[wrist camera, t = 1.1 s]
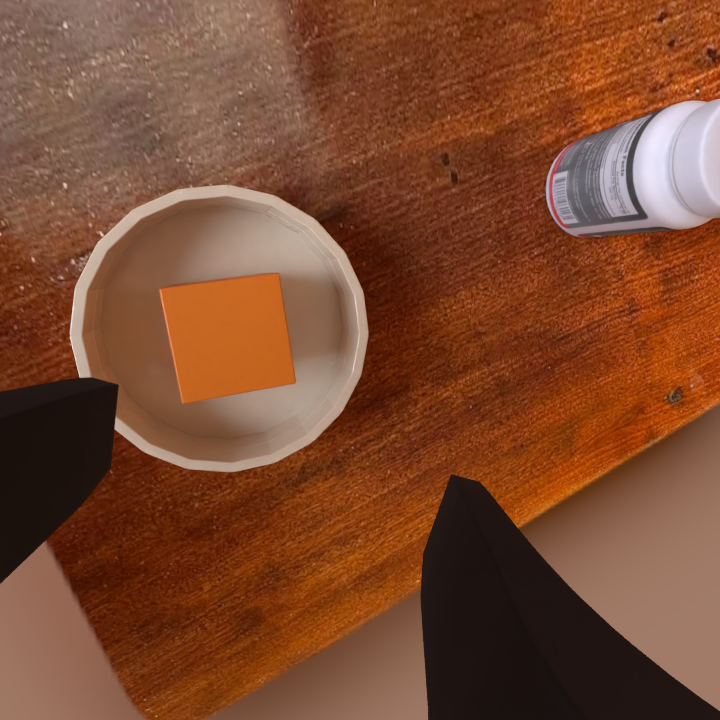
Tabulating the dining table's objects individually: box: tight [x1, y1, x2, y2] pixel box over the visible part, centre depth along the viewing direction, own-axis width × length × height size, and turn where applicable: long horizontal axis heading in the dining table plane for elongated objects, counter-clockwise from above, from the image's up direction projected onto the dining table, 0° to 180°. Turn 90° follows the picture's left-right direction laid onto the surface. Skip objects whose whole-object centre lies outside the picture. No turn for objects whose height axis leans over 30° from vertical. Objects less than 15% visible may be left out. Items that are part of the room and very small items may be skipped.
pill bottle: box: [546, 99, 720, 238], centre depth 22 cm, size 5×5×8 cm
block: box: [159, 273, 296, 404], centre depth 20 cm, size 4×4×4 cm
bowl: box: [70, 185, 369, 472], centre depth 20 cm, size 10×10×4 cm
